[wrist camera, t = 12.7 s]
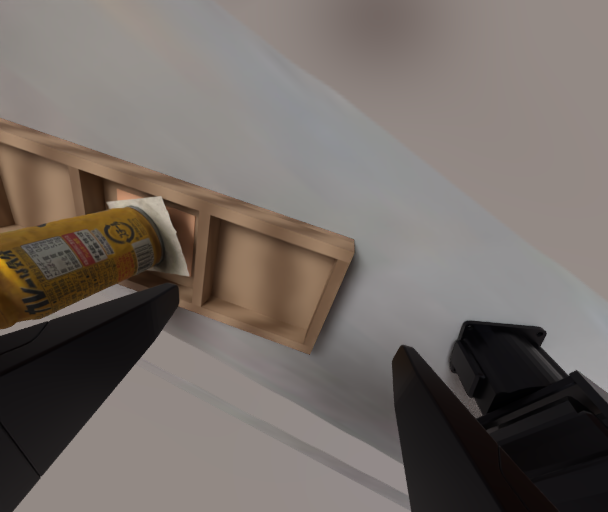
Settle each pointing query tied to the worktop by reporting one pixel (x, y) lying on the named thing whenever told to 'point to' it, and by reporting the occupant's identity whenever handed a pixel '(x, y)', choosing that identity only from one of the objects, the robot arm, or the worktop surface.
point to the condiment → (84, 257)
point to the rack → (186, 236)
